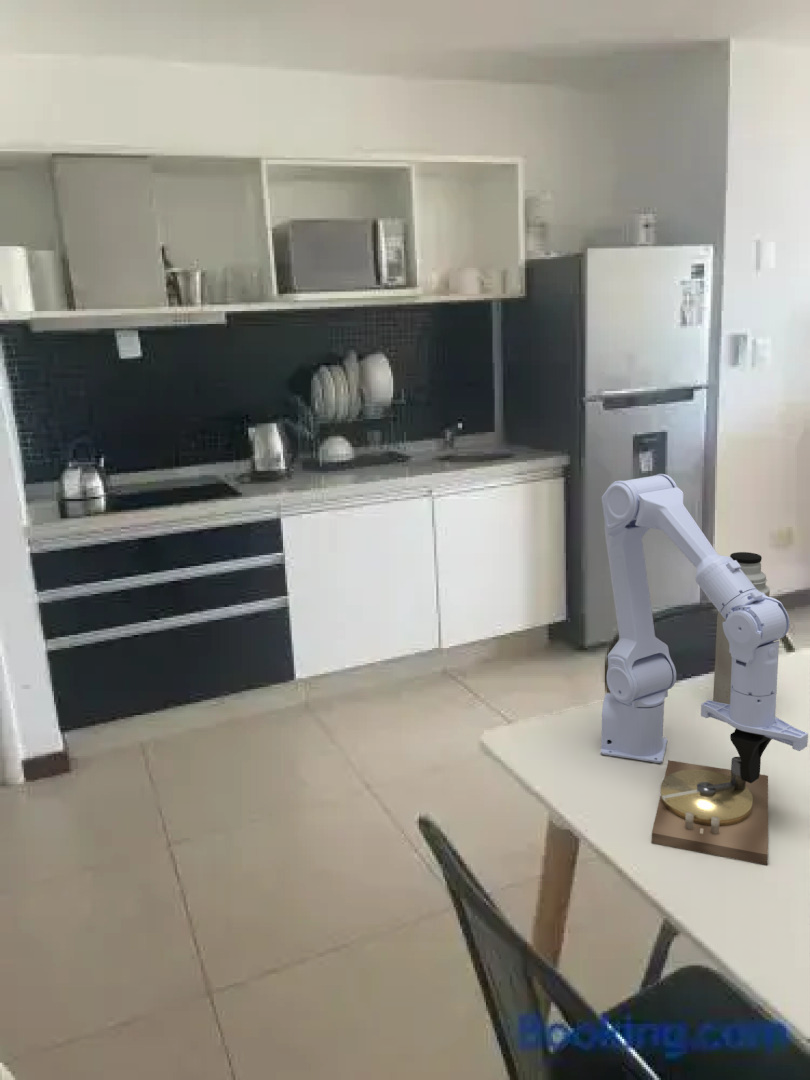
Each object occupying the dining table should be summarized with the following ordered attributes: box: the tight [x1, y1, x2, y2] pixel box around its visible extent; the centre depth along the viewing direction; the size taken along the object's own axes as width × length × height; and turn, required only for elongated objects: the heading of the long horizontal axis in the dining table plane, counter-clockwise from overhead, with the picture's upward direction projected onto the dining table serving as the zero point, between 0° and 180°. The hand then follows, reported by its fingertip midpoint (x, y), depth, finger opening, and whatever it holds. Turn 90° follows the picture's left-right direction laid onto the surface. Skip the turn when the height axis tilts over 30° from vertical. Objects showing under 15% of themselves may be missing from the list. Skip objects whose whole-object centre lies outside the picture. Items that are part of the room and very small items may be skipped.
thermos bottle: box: [712, 551, 771, 704], centre depth 143 cm, size 8×8×28 cm
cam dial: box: [660, 756, 753, 826], centre depth 116 cm, size 12×12×5 cm
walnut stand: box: [651, 760, 769, 866], centre depth 116 cm, size 14×20×4 cm
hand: (749, 778), depth 116 cm, fingers closed, pressing on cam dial
